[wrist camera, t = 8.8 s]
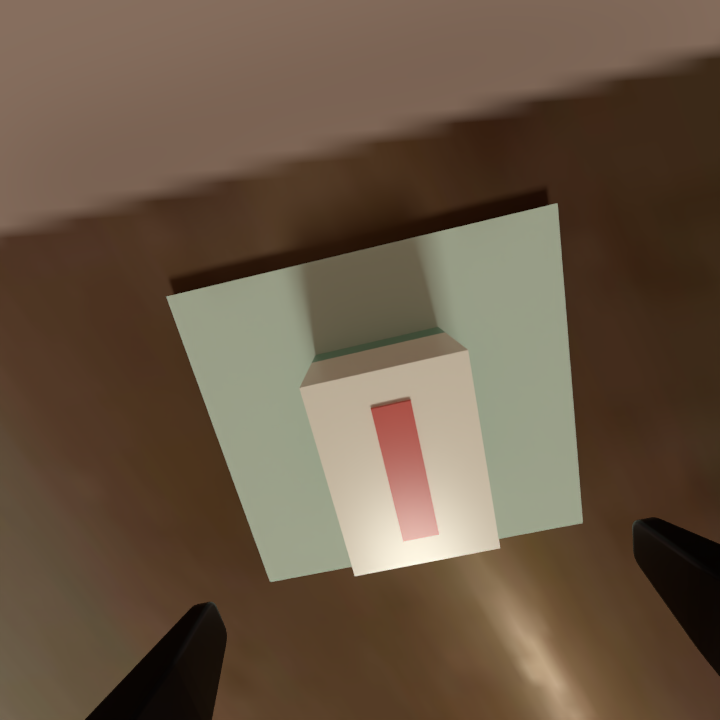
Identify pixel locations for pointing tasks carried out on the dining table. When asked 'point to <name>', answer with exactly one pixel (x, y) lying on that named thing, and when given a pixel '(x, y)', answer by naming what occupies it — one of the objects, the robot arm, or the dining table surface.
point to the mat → (377, 322)
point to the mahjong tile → (402, 450)
